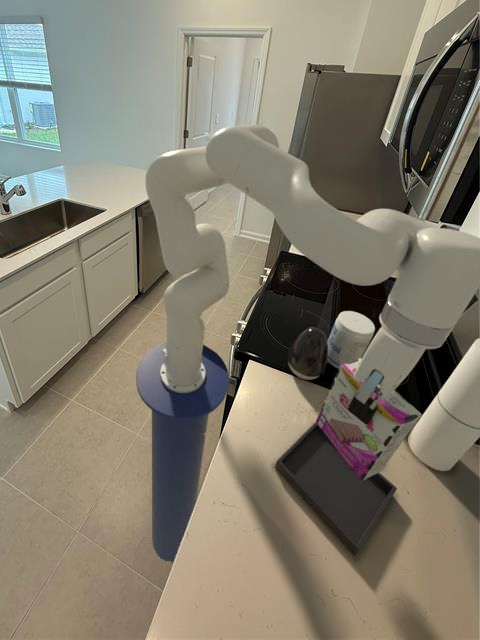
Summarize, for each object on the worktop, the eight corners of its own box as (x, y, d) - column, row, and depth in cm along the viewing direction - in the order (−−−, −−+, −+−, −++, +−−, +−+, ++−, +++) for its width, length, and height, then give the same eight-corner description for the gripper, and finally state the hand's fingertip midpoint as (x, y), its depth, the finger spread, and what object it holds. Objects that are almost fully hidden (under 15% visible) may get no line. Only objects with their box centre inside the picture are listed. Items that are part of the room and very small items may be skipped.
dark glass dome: (277, 371, 85) (289, 330, 78) (293, 350, 92) (305, 311, 85) (313, 393, 80) (329, 351, 72) (327, 369, 87) (343, 329, 80)
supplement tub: (316, 350, 93) (329, 312, 86) (340, 344, 96) (356, 307, 89) (339, 376, 85) (356, 337, 78) (365, 368, 88) (384, 330, 81)
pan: (274, 467, 64) (276, 460, 62) (315, 425, 72) (318, 419, 71) (354, 556, 52) (359, 550, 51) (392, 494, 61) (397, 488, 59)
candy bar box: (313, 423, 59) (338, 363, 51) (332, 414, 61) (360, 355, 53) (360, 485, 50) (401, 425, 42) (382, 473, 52) (424, 413, 44)
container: (447, 441, 71) (524, 347, 56) (458, 478, 64) (549, 383, 49) (405, 425, 74) (468, 332, 59) (411, 459, 67) (484, 363, 52)
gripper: (409, 286, 48) (369, 365, 57) (354, 328, 39) (317, 416, 47) (467, 312, 43) (413, 395, 52) (421, 368, 33) (365, 458, 42)
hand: (368, 404), depth 50 cm, fingers closed on candy bar box, 5 cm apart
